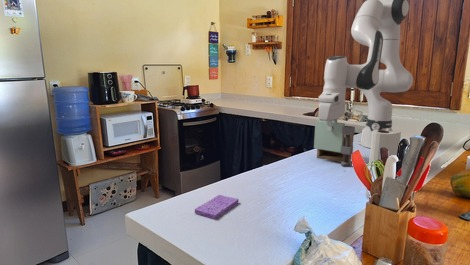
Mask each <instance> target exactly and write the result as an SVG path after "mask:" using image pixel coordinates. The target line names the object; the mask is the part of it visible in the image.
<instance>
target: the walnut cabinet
mask: <svg viewBox="0 0 470 265" xmlns="http://www.w3.org/2000/svg"><path fill="white" fill-rule="evenodd" d="M354 136H355V133H354V134H353V135H344V143H343V145H344V144H345V147H349V145H351V146H353V147H354ZM316 158H317V159H321V160H326V161H332V162H337V163H340V166H342V167H347V168H349V167H351V159H352V158H351V154H350V155H348V154H342V153H340V152H334V151H328V150H322V149H317V150H316Z"/></svg>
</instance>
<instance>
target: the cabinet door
mask: <svg viewBox="0 0 470 265" xmlns="http://www.w3.org/2000/svg"><path fill="white" fill-rule="evenodd" d="M332 126H333V129H332V130H328V129H327V127H328V126H327V121H320V120H315V124H314V139H313V149H322V150H328V151H334V152H340V153H342V154H348V155H350V154H352V155H353V152H354V145H353V146H351V145H349V147H345V144H344V145H343V143H344V135H353V134H354V135H355V132H356V130H355V129H356V126H353V125H352V126H351V125H346V123H342V122H337V123H336V122H332Z"/></svg>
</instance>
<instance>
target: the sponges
mask: <svg viewBox="0 0 470 265" xmlns="http://www.w3.org/2000/svg"><path fill="white" fill-rule="evenodd" d="M238 203H239V198H237V197H236V198H235V197H229V196H226V195H222V194H218V195H216V196H215V197H213V198H211V199H209V200H207V201H206V202H204V203H203V204H201V205H198V206H197V207H196V208H194V214H196V215H199V216H203V217H206V218H210V219H214V220H216V219H218V218H220V217H221V216H222V215H224V214H225V213H226V212H227V211H229V210H230V209H232V208H233V207H235V206H236V205H237V204H238Z"/></svg>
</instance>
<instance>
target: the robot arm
mask: <svg viewBox="0 0 470 265" xmlns="http://www.w3.org/2000/svg"><path fill="white" fill-rule="evenodd" d="M409 11H410V4H409V1H408V0H366V1H364V2H363V3H362V4H361V5H359V7H358V9H357V13H356V15H355V17H354V19H353V23H352V25H351V30H350V34H351V37H352V38H353V40H355V42H357V43H358V44H360V45H363V46H366V47H368V55H367V59H366V62H365V63H362V64H350V63H348V60H347V56H345V55H333V56H330V57H327V59H326V60H325V62H326V63H325V65H324V66H325V67H324V74H323V75H324V76H323V80H324V84H323V90H322V93H321V94H320V95H318V98H317V99H318V102H319V105H318V119H319V120H318V121H327V126H328V127H327V129H328V130H332V129H333V126H332V122H336V123H338V119H339V118H343V117H345V113H346V91H347V88H348V89H358V90H359V91H360V93H361V92H362V94H363V95H364V96H365V98H366V101H367V118H366V120H365V125H366V126H365V127H364V128H362V130H361V131H362V132H361V139H360V141H359V140H358V141H357V144H358V145H360V146H362V147H363V148H369V149H371V139H372V131H373V130H386V129H387V128H390V129H391V132H394V131H393V129H392V127H393V120H392V119H393V118H392V116H393V108H394V106H393V103H392V102H391V101H390V100H388V99H385V97H382V96H381V93H402V92H407V91H409V90H410V88H411V87H412V86H413V83H414V76H413V74H412V73H411V72H410V71H408V69H406V68H405V67H404V66H403V64H402V61H401V58H400V44H401V24H402V22H403V21H404V20H405V19H406V18H407V16H408V14H409ZM381 63H382V64H384V65H385V67H386V68H385V69H380V66H381V65H380V64H381Z"/></svg>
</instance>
